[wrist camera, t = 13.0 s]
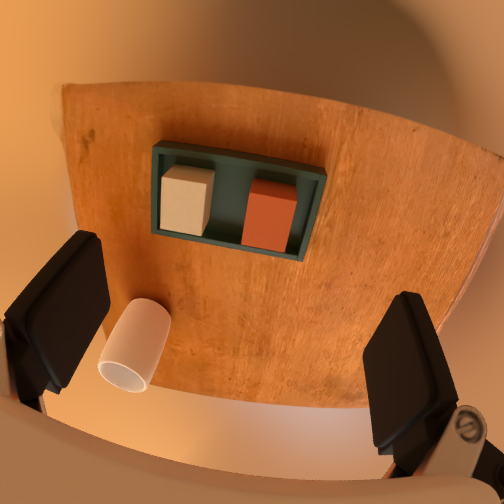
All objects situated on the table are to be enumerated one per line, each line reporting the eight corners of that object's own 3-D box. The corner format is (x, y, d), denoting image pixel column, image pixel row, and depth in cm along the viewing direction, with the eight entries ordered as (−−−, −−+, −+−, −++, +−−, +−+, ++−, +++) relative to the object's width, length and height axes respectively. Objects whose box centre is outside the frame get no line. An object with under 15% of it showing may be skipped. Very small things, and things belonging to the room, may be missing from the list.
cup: (132, 284, 48) (95, 350, 36) (180, 304, 49) (153, 376, 38) (126, 316, 53) (94, 378, 41) (168, 334, 54) (144, 400, 42)
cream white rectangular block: (215, 169, 36) (206, 183, 32) (209, 218, 40) (201, 236, 36) (174, 163, 36) (161, 176, 32) (172, 211, 40) (160, 228, 36)
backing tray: (325, 168, 35) (327, 175, 33) (302, 250, 42) (302, 262, 39) (160, 140, 35) (152, 146, 33) (157, 223, 41) (151, 233, 39)
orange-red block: (296, 185, 36) (297, 201, 32) (284, 233, 40) (284, 252, 36) (253, 177, 36) (249, 192, 32) (245, 225, 40) (240, 244, 36)
